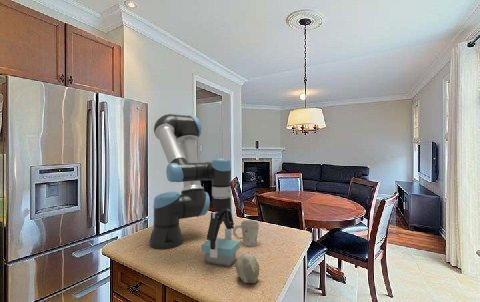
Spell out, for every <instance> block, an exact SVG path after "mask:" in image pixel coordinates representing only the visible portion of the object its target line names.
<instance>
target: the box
mask: <svg viewBox="0 0 480 302" xmlns="http://www.w3.org/2000/svg"><path fill="white" fill-rule="evenodd" d="M236 253H237V251H236V252H235V253H234V255H233V256H232V257H229V256H223V255H217V258H213V257H210V253H206V252H205V263H207V264H215V265H217V266H218V265H219V266H224V267H228V268H229V267H231V266H232V265H233V264H234V262H235V261H237V260H236V257H237V256H236V255H237V254H236Z"/></svg>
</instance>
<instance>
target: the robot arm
mask: <svg viewBox="0 0 480 302" xmlns="http://www.w3.org/2000/svg"><path fill="white" fill-rule="evenodd" d="M153 132H154V135H155V138H156V140H159V143H160V145H161V147H162V150H163V154H164V155H165V158H166V160H167V163H168V164H167V165H166V171H165V174H166V179H167V181H168V182H170V183H183V188H182V189H181V191H180V192H179V191H168V192H163V193H160V194H157V195H156V196H155V197H154V198H153V207H152V208H153V229H152V231H151V233H150V238H149V246H150V248H154V249H159V250H165V249H166V250H167V249H173V248H176V247H179V246H181V244H183V243H184V236H183V233H182V230H181V227H180V220H183V219H189V218H198V217H201V216H205V215H206V214H207V213H208V212H209V209H210V206H211V207H212V208H214V209H215V211H214V212H211V213H210V221H209V224H208V225H209V226H208V230H207V235H206V241H207V240H210V257H213V258H217V240H216V238H218V234H219V232H220V227H221V224H224V226H225V228H224V239H229V240H233V239H232V234H233V229H234V227H235V226H234V225H235V223H234V219H233V213H232V208H231V207H232V198H231V196H232V191H233V190H232V189H231V188H232V187H231V186H232V185H231V183H232V164H231V163H232V162H231V159H230V158H227V157H226V158H223V157H222V158H213V159H212V160H211V162H210V161H205V162H199V159H198V150H197V141H198V140H199V137H200V136H201V133H202V125H201V121H200V119H199V118H198V117H196V116H193V115H189V114H188V115H182V114H173V113H169V114H164V115H162V116H159V118H158V119H156V121H155V122H154V126H153ZM201 181H211V197H212V198H210V195H209V193H208V192H207V191H205V188H204V187H203V186H202V185H201ZM210 199H211V200H210ZM210 204H211V205H210Z"/></svg>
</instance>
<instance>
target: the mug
mask: <svg viewBox="0 0 480 302" xmlns="http://www.w3.org/2000/svg"><path fill="white" fill-rule="evenodd" d="M259 227H260V222H259V221H257V220H253V219H246V220H243V221H241V222H240V224H237V225H235V226H234V228H233V229H232V234H233V236H234V238H236V239H237V240H242V242H243V245H244V246H246V247H254V246H256V245H257V239H258V233H259ZM237 229H241V234H242V237H241V236H238V235H237V233H236V230H237Z"/></svg>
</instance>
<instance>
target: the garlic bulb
mask: <svg viewBox="0 0 480 302" xmlns="http://www.w3.org/2000/svg"><path fill="white" fill-rule="evenodd" d="M235 261H236V262H235V271H236V274H237V275H238V277H239V278H240V281H242V282H243V283H245V284H255V283H256V282H258V281H259V278H258V277H259V275H260V264H259V262H258V260H257V258H256V257H255V255H253V254H249V253H241V254H240V255H239V256H238V258H237V260H235Z"/></svg>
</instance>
